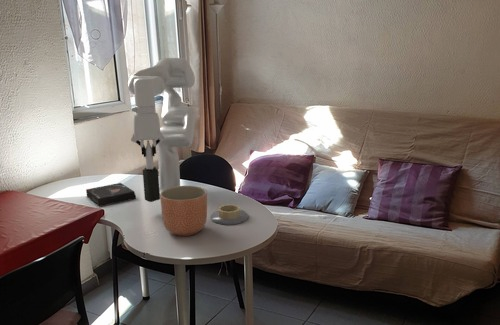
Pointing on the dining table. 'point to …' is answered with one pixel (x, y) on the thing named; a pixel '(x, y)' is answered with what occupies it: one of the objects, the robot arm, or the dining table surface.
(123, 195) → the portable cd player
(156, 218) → the dining table surface
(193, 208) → the planter
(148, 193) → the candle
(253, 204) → the dining table surface
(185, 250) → the dining table surface
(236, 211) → the candle holder
